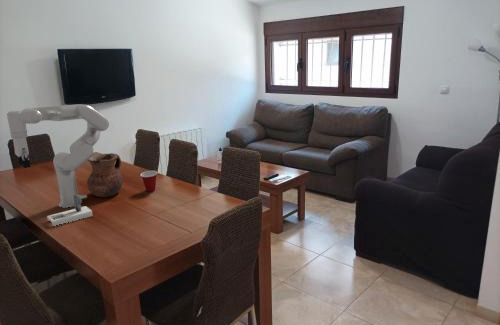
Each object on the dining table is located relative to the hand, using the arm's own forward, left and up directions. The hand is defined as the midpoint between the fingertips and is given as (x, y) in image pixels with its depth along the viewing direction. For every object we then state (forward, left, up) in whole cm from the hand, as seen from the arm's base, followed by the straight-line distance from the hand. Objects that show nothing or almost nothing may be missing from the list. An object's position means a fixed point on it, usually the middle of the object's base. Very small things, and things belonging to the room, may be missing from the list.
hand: (24, 165), depth 200 cm
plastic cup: (-66, +10, -28) cm, 73 cm away
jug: (-43, -5, -28) cm, 52 cm away
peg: (-18, +21, -28) cm, 39 cm away
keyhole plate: (-13, +21, -28) cm, 38 cm away
